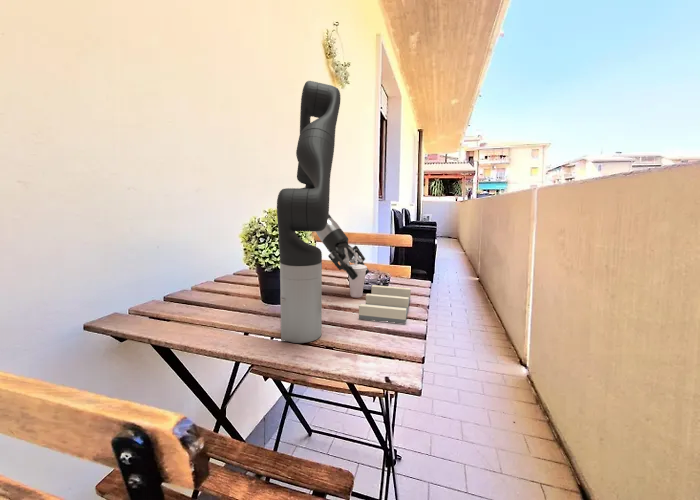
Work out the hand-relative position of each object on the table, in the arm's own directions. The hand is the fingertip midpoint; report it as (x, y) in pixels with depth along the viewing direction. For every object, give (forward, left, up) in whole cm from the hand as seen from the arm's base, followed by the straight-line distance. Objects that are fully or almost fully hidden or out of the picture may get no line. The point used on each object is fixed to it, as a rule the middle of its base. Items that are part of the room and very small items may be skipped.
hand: (361, 275), depth 105 cm
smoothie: (-1, +1, -7) cm, 7 cm away
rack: (+5, -12, -7) cm, 14 cm away
